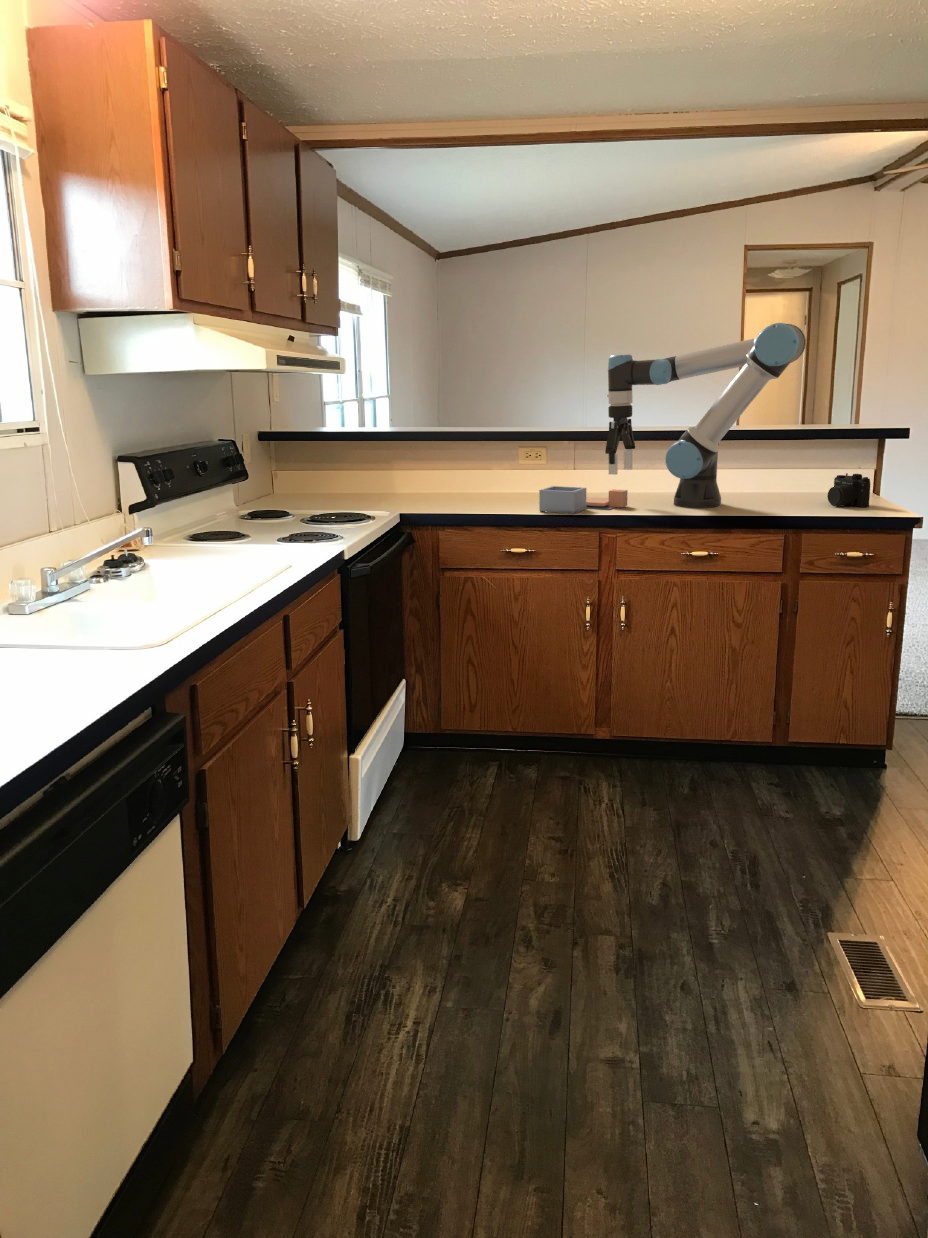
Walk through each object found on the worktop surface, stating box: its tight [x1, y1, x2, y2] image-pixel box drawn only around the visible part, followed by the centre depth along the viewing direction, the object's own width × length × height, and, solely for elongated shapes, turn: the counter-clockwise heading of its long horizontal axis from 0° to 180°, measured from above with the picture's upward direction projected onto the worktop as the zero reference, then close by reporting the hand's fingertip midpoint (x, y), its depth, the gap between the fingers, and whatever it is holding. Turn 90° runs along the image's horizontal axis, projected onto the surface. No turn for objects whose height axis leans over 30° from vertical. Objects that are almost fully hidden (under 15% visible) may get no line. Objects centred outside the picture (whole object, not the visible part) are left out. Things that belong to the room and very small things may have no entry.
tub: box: [538, 485, 587, 515], centre depth 318 cm, size 12×10×7 cm
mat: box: [586, 505, 617, 511], centre depth 328 cm, size 17×13×1 cm
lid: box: [586, 489, 629, 508], centre depth 326 cm, size 18×11×5 cm, turn 61°
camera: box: [827, 472, 871, 509], centre depth 315 cm, size 14×11×10 cm
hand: (620, 471), depth 320 cm, fingers open, 13 cm apart
